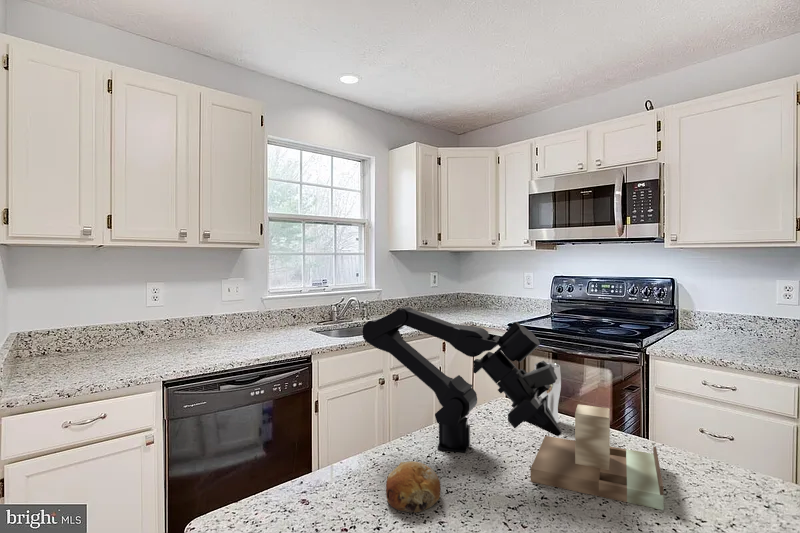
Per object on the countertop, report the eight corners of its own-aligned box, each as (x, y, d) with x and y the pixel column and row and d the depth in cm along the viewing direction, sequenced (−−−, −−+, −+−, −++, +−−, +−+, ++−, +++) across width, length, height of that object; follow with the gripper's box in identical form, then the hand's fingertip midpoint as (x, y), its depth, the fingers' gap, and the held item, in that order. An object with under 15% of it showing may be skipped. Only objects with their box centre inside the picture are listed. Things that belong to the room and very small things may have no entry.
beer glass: (565, 425, 113) (564, 368, 113) (538, 425, 113) (537, 368, 113) (555, 416, 120) (555, 362, 120) (530, 416, 120) (530, 362, 120)
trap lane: (530, 481, 84) (530, 460, 84) (545, 446, 100) (545, 429, 100) (663, 510, 74) (663, 486, 74) (656, 466, 90) (656, 446, 90)
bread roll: (444, 513, 80) (447, 466, 83) (430, 518, 71) (435, 464, 74) (393, 504, 83) (398, 458, 86) (374, 507, 74) (381, 456, 77)
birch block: (575, 463, 86) (575, 413, 86) (578, 451, 91) (577, 404, 91) (608, 470, 83) (608, 417, 83) (609, 457, 89) (609, 408, 89)
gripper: (523, 360, 84) (586, 426, 79) (540, 344, 101) (592, 398, 96) (484, 395, 88) (541, 461, 83) (506, 374, 104) (555, 428, 99)
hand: (560, 434), depth 90 cm, fingers closed
